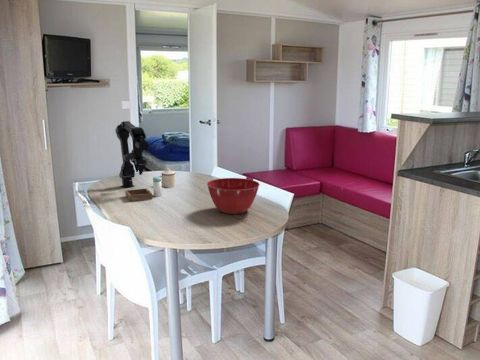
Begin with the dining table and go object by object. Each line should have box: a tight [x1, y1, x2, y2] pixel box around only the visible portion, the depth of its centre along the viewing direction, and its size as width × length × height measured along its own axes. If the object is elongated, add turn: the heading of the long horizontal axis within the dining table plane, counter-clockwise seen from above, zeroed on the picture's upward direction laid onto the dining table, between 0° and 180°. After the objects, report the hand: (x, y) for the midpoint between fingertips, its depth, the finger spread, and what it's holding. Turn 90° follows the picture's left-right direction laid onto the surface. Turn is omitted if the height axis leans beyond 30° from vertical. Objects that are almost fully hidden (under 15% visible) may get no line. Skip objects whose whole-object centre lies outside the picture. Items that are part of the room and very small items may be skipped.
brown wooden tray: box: [124, 188, 153, 203], centre depth 260 cm, size 13×13×4 cm
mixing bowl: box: [206, 177, 260, 215], centre depth 239 cm, size 28×28×15 cm
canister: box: [152, 176, 163, 198], centre depth 263 cm, size 7×5×12 cm
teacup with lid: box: [158, 168, 176, 188], centre depth 290 cm, size 12×9×12 cm
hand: (138, 173), depth 269 cm, fingers open, 9 cm apart
